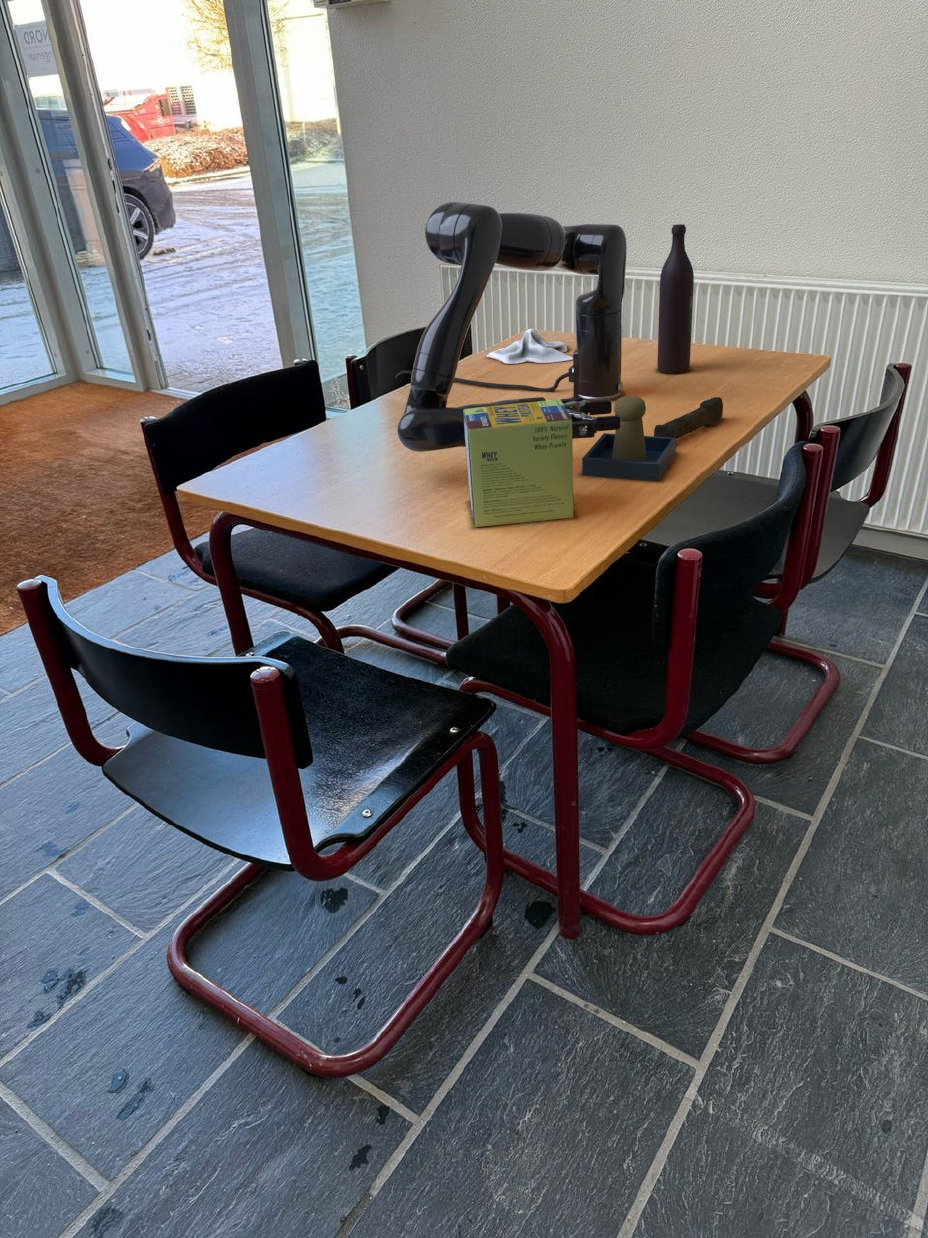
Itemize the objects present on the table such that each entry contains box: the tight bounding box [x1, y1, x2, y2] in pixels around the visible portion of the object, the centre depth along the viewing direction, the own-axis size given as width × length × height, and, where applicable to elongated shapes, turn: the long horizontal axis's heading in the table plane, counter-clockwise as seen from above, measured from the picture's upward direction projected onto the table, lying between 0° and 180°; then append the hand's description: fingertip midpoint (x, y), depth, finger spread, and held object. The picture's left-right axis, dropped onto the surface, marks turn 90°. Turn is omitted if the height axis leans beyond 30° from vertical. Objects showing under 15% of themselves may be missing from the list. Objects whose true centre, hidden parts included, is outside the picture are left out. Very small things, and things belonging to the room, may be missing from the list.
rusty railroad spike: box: [653, 396, 724, 440], centre depth 165 cm, size 19×4×5 cm, turn 131°
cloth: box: [486, 328, 573, 365], centre depth 222 cm, size 22×19×6 cm
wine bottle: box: [656, 223, 695, 375], centre depth 195 cm, size 7×7×30 cm
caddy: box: [581, 432, 677, 482], centre depth 154 cm, size 13×13×3 cm
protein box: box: [463, 398, 575, 528], centre depth 138 cm, size 10×15×16 cm
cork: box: [612, 395, 647, 462], centre depth 152 cm, size 6×6×11 cm
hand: (615, 414), depth 151 cm, fingers open, 8 cm apart
